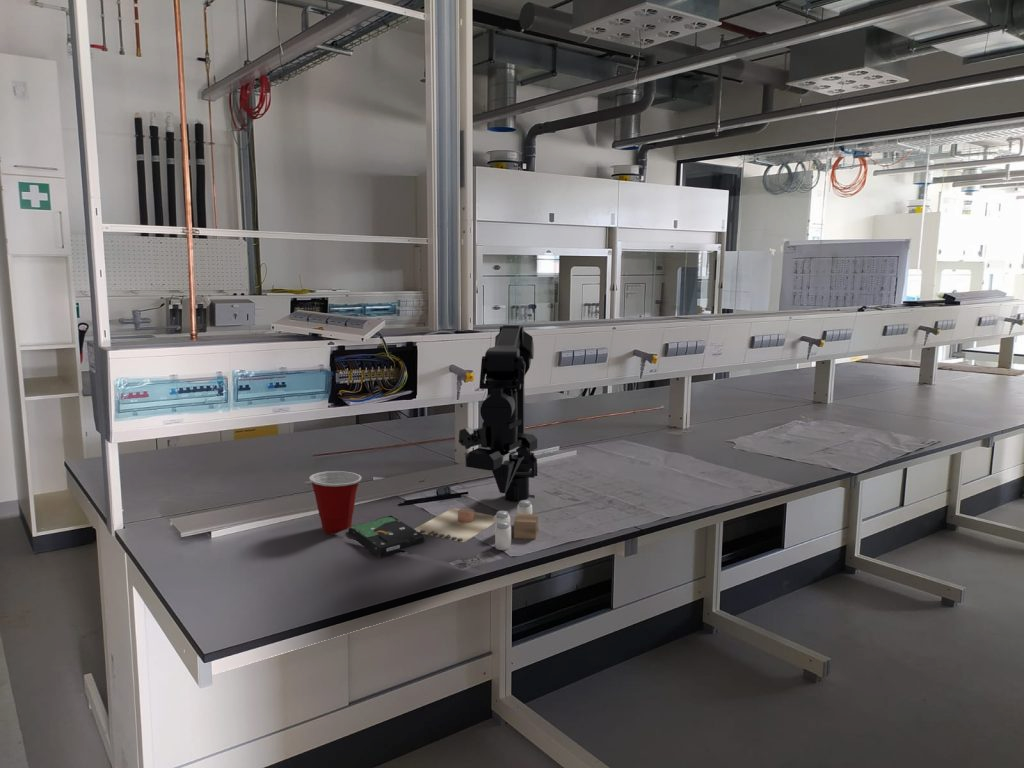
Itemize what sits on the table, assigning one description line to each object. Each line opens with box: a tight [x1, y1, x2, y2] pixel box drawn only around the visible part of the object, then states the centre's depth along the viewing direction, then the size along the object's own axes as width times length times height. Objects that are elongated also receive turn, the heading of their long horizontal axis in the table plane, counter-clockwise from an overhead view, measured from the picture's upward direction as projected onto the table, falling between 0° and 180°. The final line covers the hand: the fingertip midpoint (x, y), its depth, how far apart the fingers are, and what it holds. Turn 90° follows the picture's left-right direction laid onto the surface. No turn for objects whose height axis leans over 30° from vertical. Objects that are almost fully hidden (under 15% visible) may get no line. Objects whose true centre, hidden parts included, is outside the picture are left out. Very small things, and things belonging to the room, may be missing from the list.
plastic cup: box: [308, 470, 362, 535], centre depth 154 cm, size 11×11×12 cm
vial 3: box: [516, 499, 533, 514], centre depth 155 cm, size 3×3×6 cm
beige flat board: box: [413, 507, 495, 544], centre depth 156 cm, size 16×13×1 cm
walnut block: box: [513, 512, 539, 540], centre depth 150 cm, size 4×4×4 cm
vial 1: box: [494, 510, 511, 527], centre depth 149 cm, size 3×3×6 cm
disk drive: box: [348, 515, 426, 559], centre depth 149 cm, size 10×3×15 cm
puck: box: [458, 507, 475, 523], centre depth 158 cm, size 4×4×2 cm
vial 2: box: [494, 521, 512, 551], centre depth 143 cm, size 3×3×6 cm
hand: (503, 492), depth 142 cm, fingers closed
